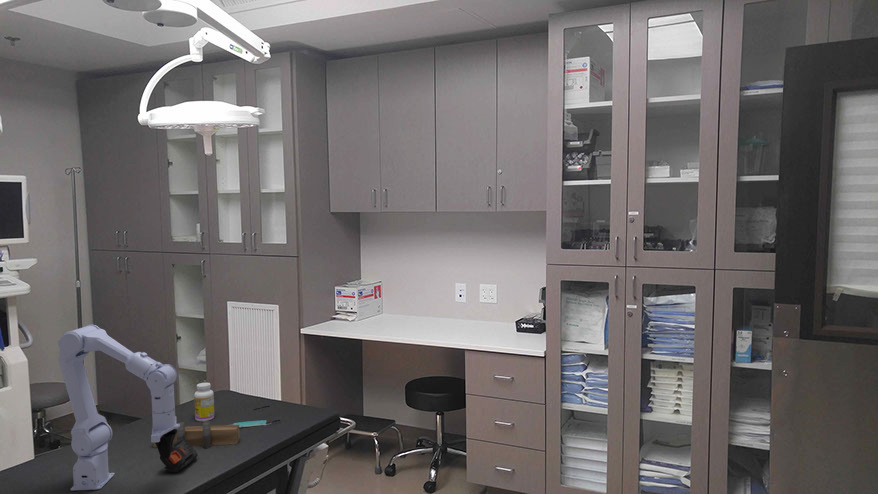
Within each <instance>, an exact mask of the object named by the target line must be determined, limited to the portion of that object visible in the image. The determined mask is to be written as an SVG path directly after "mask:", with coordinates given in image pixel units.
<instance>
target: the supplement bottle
mask: <svg viewBox="0 0 878 494" xmlns="http://www.w3.org/2000/svg"><path fill="white" fill-rule="evenodd" d="M211 387H212V384H211V383H210V382H200V383H198V384H196V389H197V390H196V391H195V392H194V394H193V397H194V398H193V399H194V400H193V401H194V419H195V421H197V422H199V423H200V422H202V423H203V422H206V421H211V420H213V419H214V418H215V396H214V395H215V394H214V391H213V390H212V389H211Z"/></svg>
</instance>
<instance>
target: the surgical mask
mask: <svg viewBox="0 0 878 494" xmlns="http://www.w3.org/2000/svg"><path fill="white" fill-rule="evenodd" d="M265 408H270V405H265V406H262V407H256V408H253V411H256V410H260V409H265ZM280 421H281V419H277V420H272V421H269V422H267V420H265V419H261V420H251V421H240V422H234V423H232V424H231V425H239V429H240V428H241V429H242V428H251V427H261V426H267V425H270V424H272V423H276V422H280Z"/></svg>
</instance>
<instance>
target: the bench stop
mask: <svg viewBox="0 0 878 494" xmlns="http://www.w3.org/2000/svg"><path fill="white" fill-rule="evenodd" d="M176 424H180V427H179V428H177V433H176V435H175V438H174V441H173V444H174V443H175V442H177V441H178V440H180V439H182V438H185V439H186V440H187V442H188V443H189V444H190V445H191V446H192V447H199V446H200V447H201V446H203V447H202V448H203V449H210V448H211V447H212V446H222V445H227V446H228V445H237V444H238V443H239V441H240V440H241V439H240V438H241V437H240V428H239V425H232V424H225V425H224V424H223V425H222V424H219V425H211V420H209V421H203V422H202V425H200V426H199V425H198V426H197V425H196V426H195V425H194V426H186V425H185V424H186V423H185V422H184V421H180V422H177V423H176ZM153 448H157V446H156V444H155V442H153Z"/></svg>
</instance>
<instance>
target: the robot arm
mask: <svg viewBox="0 0 878 494" xmlns="http://www.w3.org/2000/svg"><path fill="white" fill-rule="evenodd" d="M57 345H58V348H59V353H58V354H59V356H58V364H59V366H60V370H61V374H62V378H63V382H64V385H65V388H66V391H67V396H68V398H69V401H70V405H71V408H72V413H73V416H74V418H75V423H74V424H73V427H72V429H71V430H70V435H71V443H70V444H71V450H73V452H74V453H75V454H76V456H77V461H76V462H75V463H74V465H73V468H72V476H73V477H72V478H73V479H72V481H73V485H72V487H70V489H69V490H70V491H72V492H73V491H91V490H93V491H95V490H101V489H102V488H103V487H104V486H105V485H106V484H107V483H108V482H109V481H110V480H111V479H112V478H113V477H114V476H115V472H109V470H110V469H109V455H108V454H109V452H108V451H109V450H108V447H109V442H111V441H110V440H112V437H113V435H114V434H113V429H112V427H111V426H110V425H109V424H108V421H107V420H106V417H105V416H104V415H101V414H99V413H98V410H97V406H96V403H95V399H94V395H93V392H92V388H91V385H90V381H89V377H88V375H87V371H86V368H85V365H84V360H85V358H86V357H88V354H89V353H90V352H97V351H100V352H102V353H104V354H106V355H108V356H110V357H111V358H114V359H115V360H117V361H120V362H121V363H124V365H125V370H126V371H128V372H129V373H132V374H133V375H134V376H136V377H138V378H140V379H141V380H143V381H145V383H146V386H147V388H148V389H149V391H150V396H151V411H152V412H151V414H152V416H151V417H152V418H151V419H152V427H151V435H150V442H151V443H152V444H153V443H154V442H155V444H156V446H157V447H156V448H157V450H158V453H159V458H160V457H161V459H168V458H169V457H170V455H171V451H172V445H173V441H174V438H175V435H176V433H177V428H179V427H180V424H177V423H178V421H177V419H178V418H177V416H176V407H175V405H176V404H175V384H174V383H176V382H177V379H178V372H177V370H176V368H175V367H173V365H171V364H169V363H167V364H166V363H165V364H163V363H162V362H160V361H156V359H153V358H151V357H150V356H148V353H146V352H144V351H142V352H141V351H137V352H133V351H132V350H131V349H128V348H127V347H126V346H124V345H122V344H121V343H120V342H118V341H117V340H116V339H114V338H112V337H111V336H109V335H108V334H107V331H106V330H105V329H103V328H100V327H99V326H98V325H96V324H88V325H85V326H83V327H80V328H77V329H74V330H68V331H66V332H65V333H63V334H62V336H61V337H60V338H59V339H58V341H57Z"/></svg>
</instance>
